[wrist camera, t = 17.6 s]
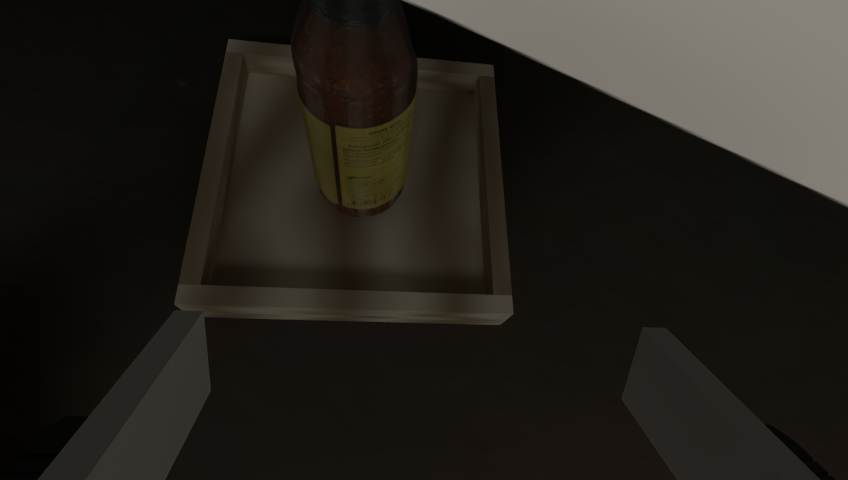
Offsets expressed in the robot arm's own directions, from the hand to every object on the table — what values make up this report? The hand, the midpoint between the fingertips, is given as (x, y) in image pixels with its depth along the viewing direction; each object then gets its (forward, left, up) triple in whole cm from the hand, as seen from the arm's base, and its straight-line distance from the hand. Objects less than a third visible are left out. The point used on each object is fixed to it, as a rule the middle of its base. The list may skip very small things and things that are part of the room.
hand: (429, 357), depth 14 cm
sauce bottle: (+3, -15, -16) cm, 22 cm away
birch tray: (+3, -15, -17) cm, 23 cm away
